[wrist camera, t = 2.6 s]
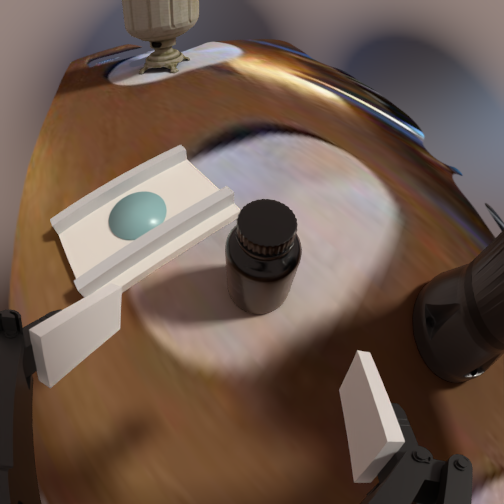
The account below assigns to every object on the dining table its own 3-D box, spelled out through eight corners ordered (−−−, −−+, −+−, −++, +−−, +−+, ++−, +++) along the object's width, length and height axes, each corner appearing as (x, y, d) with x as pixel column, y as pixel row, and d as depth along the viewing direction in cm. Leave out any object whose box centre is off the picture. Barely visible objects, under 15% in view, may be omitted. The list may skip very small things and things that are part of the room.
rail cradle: (178, 156, 44) (175, 140, 41) (240, 216, 38) (241, 199, 35) (57, 226, 35) (48, 212, 33) (94, 312, 30) (82, 301, 27)
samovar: (241, 57, 70) (249, -64, 36) (179, 88, 57) (174, -71, 24) (168, 46, 77) (164, -54, 43) (107, 75, 64) (90, -43, 31)
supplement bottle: (269, 253, 35) (284, 180, 25) (298, 300, 32) (329, 238, 22) (216, 274, 33) (210, 204, 23) (243, 326, 30) (249, 273, 20)
